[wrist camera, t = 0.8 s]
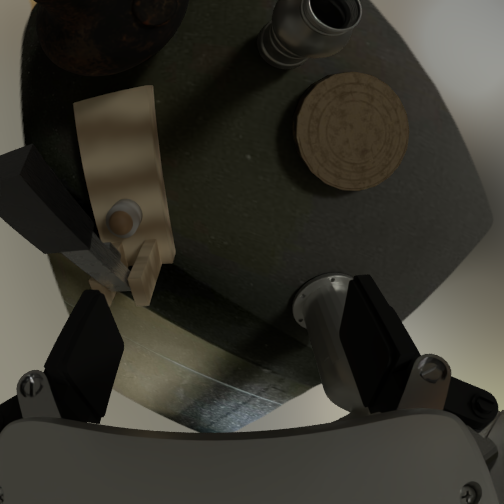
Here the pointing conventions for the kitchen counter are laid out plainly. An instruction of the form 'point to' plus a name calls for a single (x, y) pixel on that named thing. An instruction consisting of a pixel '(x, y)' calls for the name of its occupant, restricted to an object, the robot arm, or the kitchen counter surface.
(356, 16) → the plastic bottle
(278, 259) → the kitchen counter surface
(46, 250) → the lever
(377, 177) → the brown round flat disc
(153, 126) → the nutcracker base
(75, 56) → the glass bottle
